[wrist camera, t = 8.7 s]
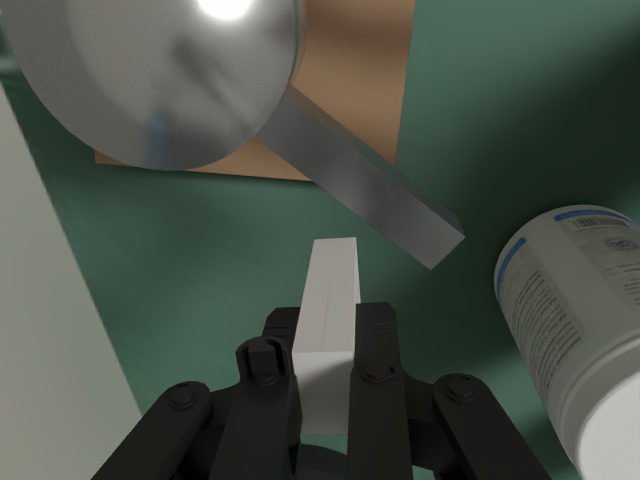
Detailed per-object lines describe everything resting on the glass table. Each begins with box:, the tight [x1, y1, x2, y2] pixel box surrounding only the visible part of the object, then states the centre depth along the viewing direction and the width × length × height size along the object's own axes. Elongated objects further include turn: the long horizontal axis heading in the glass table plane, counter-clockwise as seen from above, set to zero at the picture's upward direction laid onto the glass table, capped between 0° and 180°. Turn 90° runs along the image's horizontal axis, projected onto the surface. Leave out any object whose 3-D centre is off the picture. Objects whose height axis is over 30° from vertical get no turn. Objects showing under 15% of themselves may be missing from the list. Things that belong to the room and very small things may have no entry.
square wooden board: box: [94, 0, 415, 181], centre depth 24 cm, size 18×18×10 cm
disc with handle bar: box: [1, 0, 465, 270], centre depth 17 cm, size 27×9×4 cm, turn 53°
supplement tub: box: [494, 205, 640, 480], centre depth 27 cm, size 10×10×15 cm
